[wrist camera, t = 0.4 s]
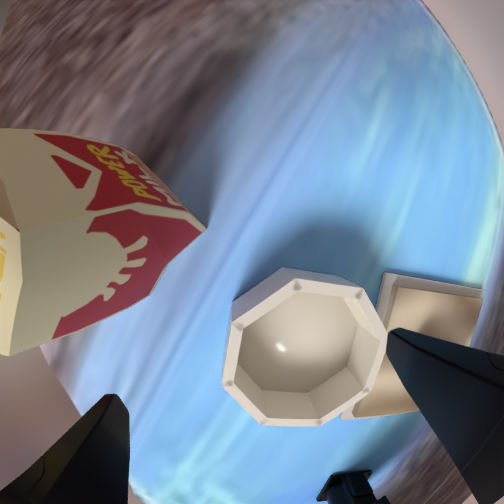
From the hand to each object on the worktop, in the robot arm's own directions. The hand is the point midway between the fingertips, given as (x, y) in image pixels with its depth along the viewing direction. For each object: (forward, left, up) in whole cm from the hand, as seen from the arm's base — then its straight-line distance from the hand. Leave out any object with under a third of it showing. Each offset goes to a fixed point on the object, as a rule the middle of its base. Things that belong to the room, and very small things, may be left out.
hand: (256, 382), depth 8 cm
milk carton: (+3, +10, -15) cm, 18 cm away
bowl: (-4, -5, -15) cm, 16 cm away
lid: (-5, -20, -14) cm, 26 cm away
